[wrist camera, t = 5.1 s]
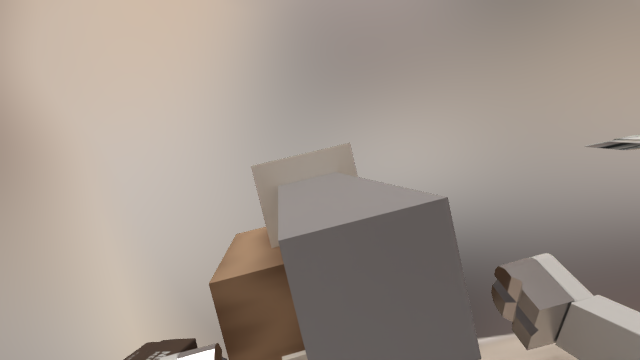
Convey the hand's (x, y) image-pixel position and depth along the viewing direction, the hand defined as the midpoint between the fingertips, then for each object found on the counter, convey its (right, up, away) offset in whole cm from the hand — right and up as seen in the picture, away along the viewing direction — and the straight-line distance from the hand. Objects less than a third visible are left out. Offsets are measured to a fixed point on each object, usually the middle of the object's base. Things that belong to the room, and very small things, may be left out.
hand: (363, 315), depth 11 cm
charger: (-1, 0, +7) cm, 7 cm away
